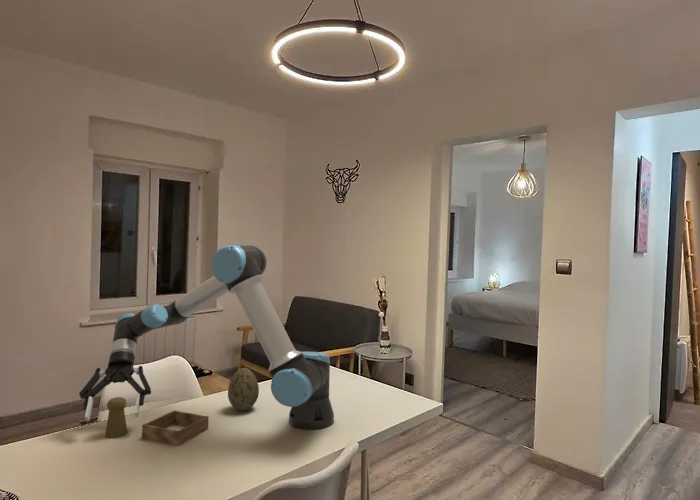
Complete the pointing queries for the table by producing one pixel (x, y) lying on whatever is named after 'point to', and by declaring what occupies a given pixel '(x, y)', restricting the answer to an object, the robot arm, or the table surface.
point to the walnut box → (160, 433)
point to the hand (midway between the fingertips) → (112, 417)
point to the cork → (116, 418)
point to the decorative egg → (243, 389)
